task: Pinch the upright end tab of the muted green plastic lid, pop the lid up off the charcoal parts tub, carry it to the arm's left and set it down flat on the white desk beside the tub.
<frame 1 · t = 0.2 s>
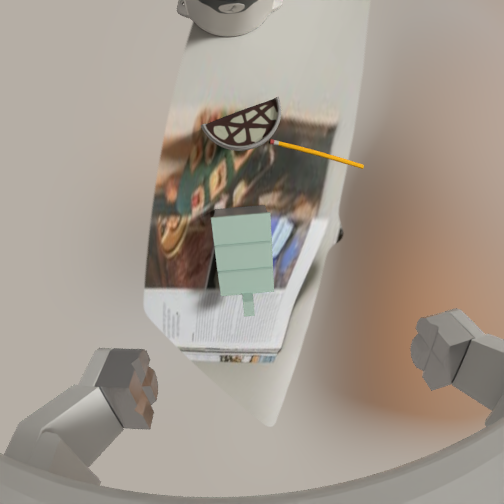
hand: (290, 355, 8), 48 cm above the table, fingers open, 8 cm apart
tub: (242, 242, 58), on the table
food container: (245, 129, 50), on the table
lid: (244, 255, 52), point 6 cm above the table, touching tub
pencil: (318, 153, 52), on the table
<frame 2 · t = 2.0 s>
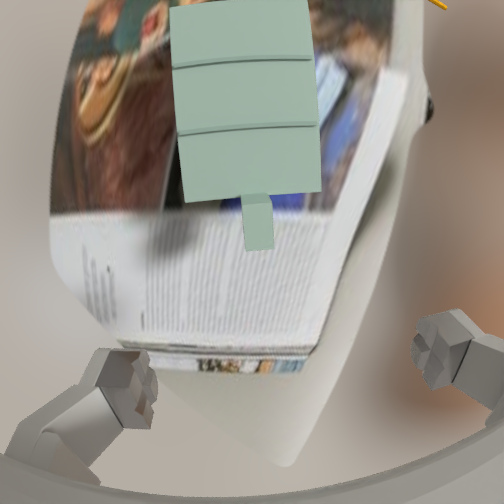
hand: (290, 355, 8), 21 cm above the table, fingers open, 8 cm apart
lid: (245, 92, 18), point 6 cm above the table, touching tub
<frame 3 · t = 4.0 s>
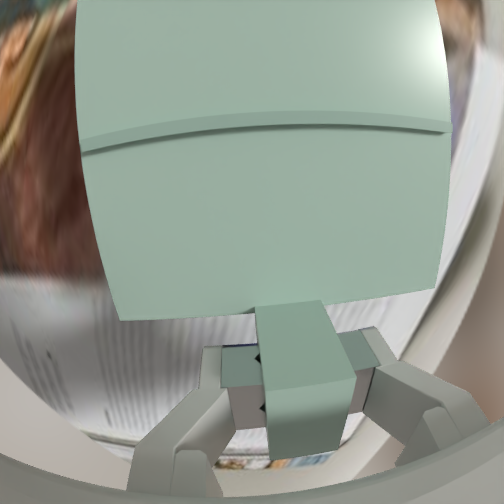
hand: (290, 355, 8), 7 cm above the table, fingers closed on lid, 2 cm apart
lid: (269, 30, 6), point 6 cm above the table, touching gripper, tub
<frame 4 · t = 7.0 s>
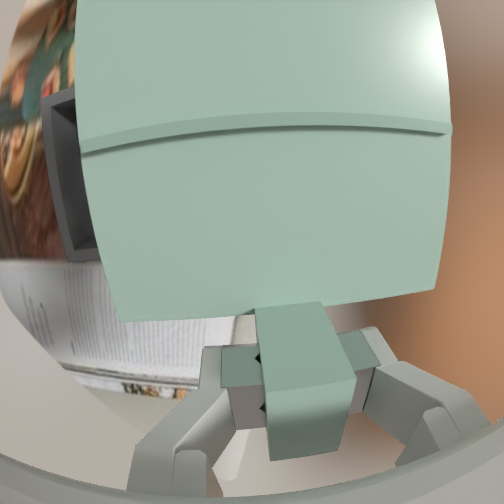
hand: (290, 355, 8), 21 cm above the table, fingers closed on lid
tub: (121, 162, 25), on the table
lid: (270, 31, 6), point 20 cm above the table, touching gripper
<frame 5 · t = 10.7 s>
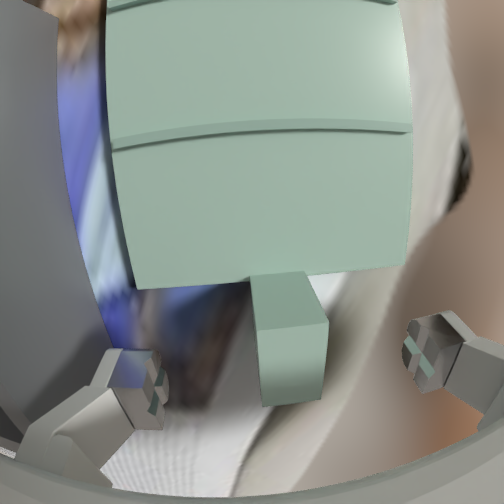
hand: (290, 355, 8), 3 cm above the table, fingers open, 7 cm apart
lid: (262, 53, 8), on the table
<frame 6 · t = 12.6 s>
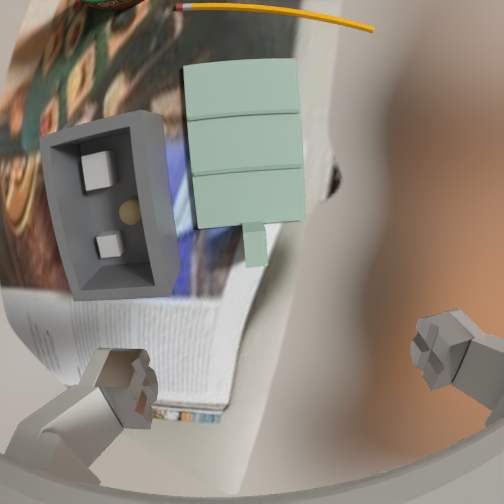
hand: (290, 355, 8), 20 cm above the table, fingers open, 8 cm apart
tub: (124, 199, 26), on the table
lid: (245, 140, 25), on the table
pencil: (277, 12, 21), on the table
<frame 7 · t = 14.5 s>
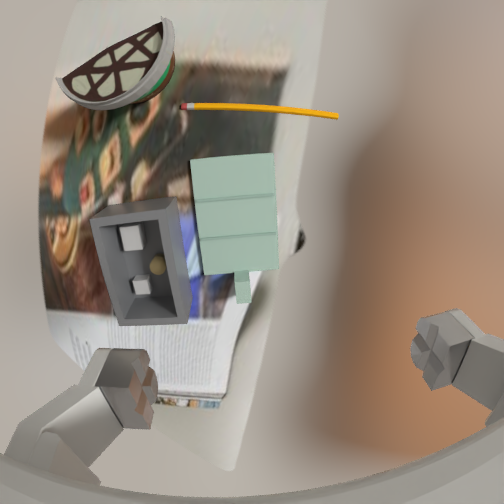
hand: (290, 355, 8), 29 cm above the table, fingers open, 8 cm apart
tub: (150, 253, 38), on the table
food container: (145, 86, 30), on the table
lid: (236, 215, 37), on the table
pencil: (261, 108, 32), on the table
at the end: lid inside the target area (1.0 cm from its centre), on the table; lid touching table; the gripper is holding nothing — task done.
